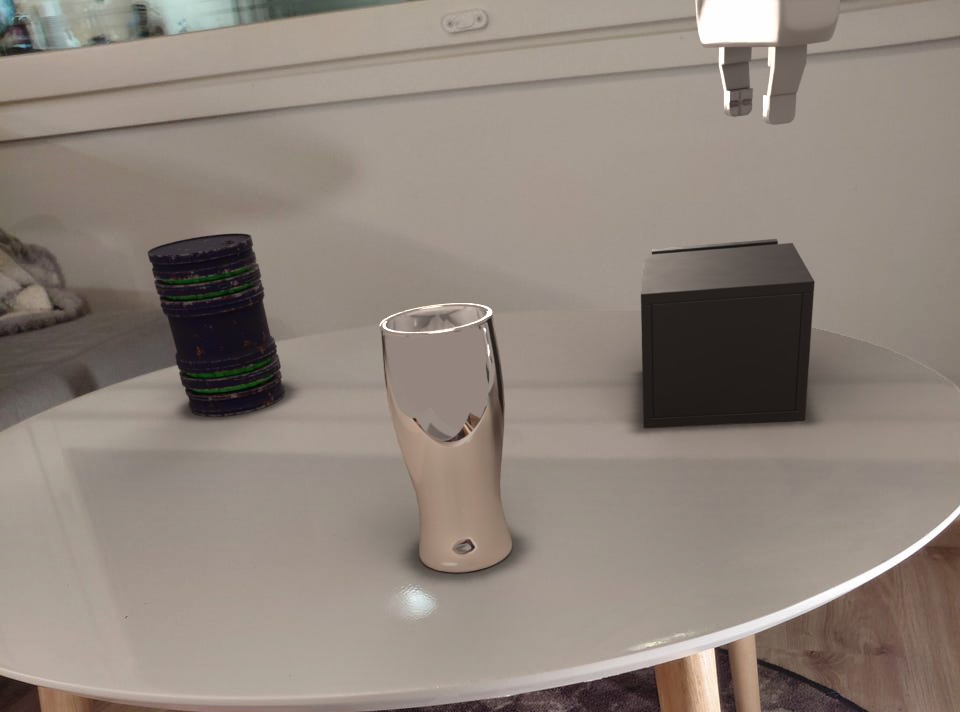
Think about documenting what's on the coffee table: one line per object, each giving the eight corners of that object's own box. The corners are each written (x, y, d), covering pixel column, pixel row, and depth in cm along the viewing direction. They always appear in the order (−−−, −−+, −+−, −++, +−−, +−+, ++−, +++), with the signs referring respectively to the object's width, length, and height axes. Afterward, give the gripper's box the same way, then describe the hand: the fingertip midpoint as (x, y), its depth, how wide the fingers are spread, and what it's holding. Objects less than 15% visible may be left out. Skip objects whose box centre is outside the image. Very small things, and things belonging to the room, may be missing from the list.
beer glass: (404, 540, 66) (367, 314, 58) (503, 520, 67) (480, 296, 59) (424, 585, 60) (385, 341, 52) (532, 563, 61) (510, 320, 53)
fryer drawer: (653, 330, 100) (652, 240, 96) (768, 323, 98) (772, 230, 94) (651, 385, 86) (650, 281, 81) (786, 377, 83) (792, 270, 79)
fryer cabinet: (646, 373, 91) (643, 255, 86) (785, 365, 89) (792, 242, 83) (643, 428, 79) (640, 294, 74) (805, 420, 77) (814, 281, 71)
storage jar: (172, 419, 95) (127, 259, 87) (211, 387, 103) (172, 238, 96) (267, 413, 93) (230, 250, 86) (299, 382, 102) (267, 229, 94)
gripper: (880, -153, 55) (856, 122, 62) (764, -104, 72) (756, 107, 79) (769, -140, 55) (758, 135, 62) (680, -94, 72) (680, 116, 79)
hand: (756, 119), depth 71 cm, fingers open, 8 cm apart
